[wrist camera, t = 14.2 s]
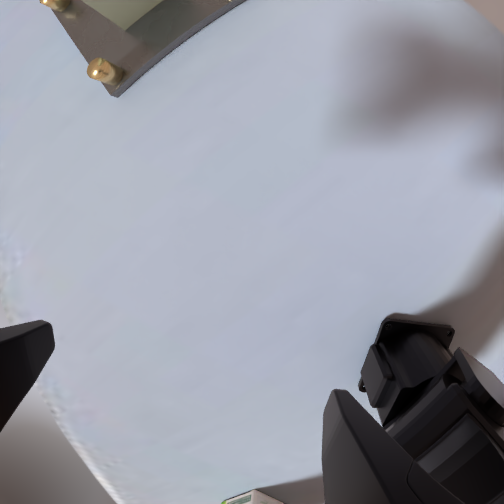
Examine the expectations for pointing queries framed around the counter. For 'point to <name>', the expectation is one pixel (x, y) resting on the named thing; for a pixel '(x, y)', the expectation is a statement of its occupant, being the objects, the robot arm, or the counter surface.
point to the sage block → (122, 10)
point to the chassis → (133, 36)
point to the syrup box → (252, 499)
